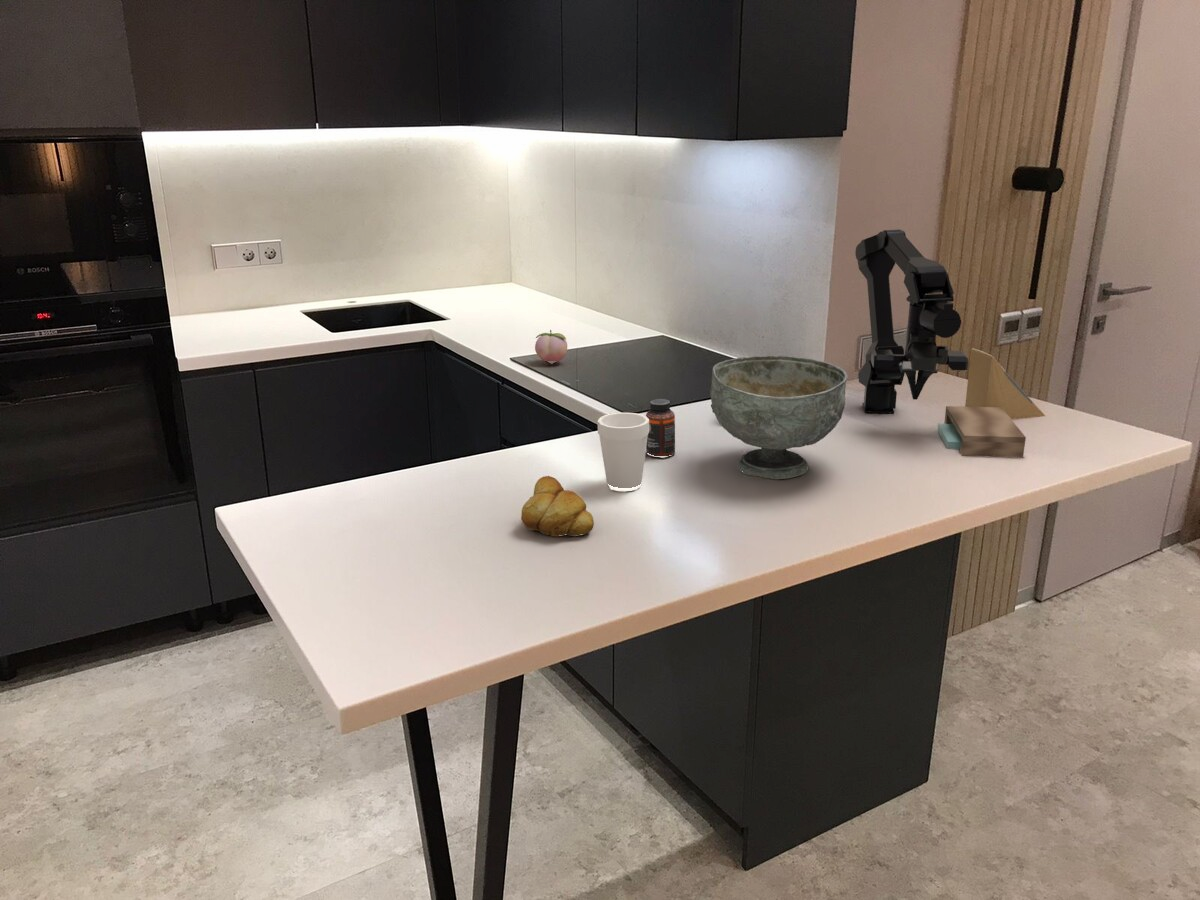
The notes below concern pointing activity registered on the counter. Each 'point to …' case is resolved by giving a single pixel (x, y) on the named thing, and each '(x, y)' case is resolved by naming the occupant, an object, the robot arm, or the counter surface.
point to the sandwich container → (996, 388)
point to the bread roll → (556, 510)
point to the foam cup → (623, 447)
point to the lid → (950, 436)
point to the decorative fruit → (551, 346)
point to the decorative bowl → (777, 408)
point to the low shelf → (986, 431)
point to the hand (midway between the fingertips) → (914, 399)
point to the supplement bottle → (661, 428)
